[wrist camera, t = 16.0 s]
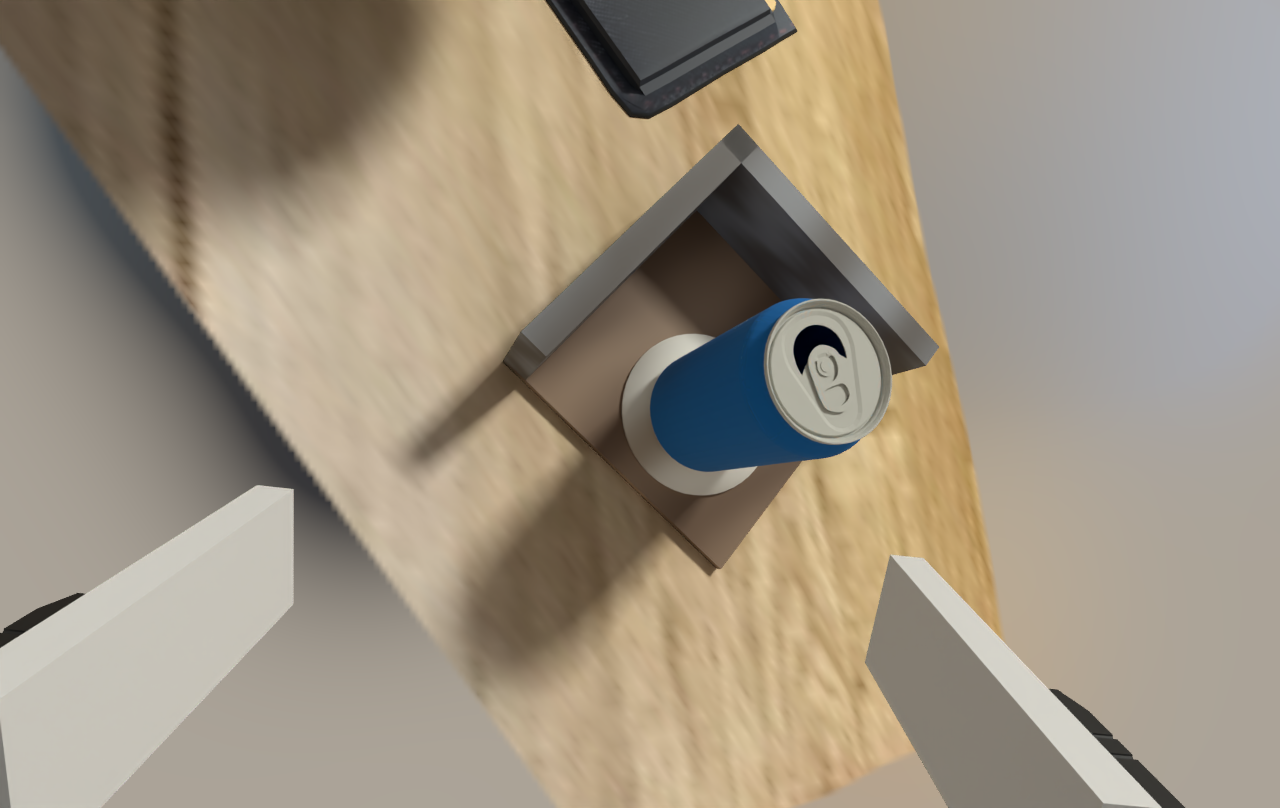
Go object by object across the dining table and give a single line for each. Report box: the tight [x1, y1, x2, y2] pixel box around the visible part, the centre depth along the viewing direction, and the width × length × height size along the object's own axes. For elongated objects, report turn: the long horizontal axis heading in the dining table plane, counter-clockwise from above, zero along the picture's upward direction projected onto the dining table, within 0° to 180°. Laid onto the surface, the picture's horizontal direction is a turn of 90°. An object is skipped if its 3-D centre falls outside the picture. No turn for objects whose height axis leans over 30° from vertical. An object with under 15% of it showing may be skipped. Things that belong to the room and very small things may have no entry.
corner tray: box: [503, 124, 939, 569], centre depth 34 cm, size 16×16×6 cm
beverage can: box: [650, 298, 892, 472], centre depth 30 cm, size 6×6×12 cm
